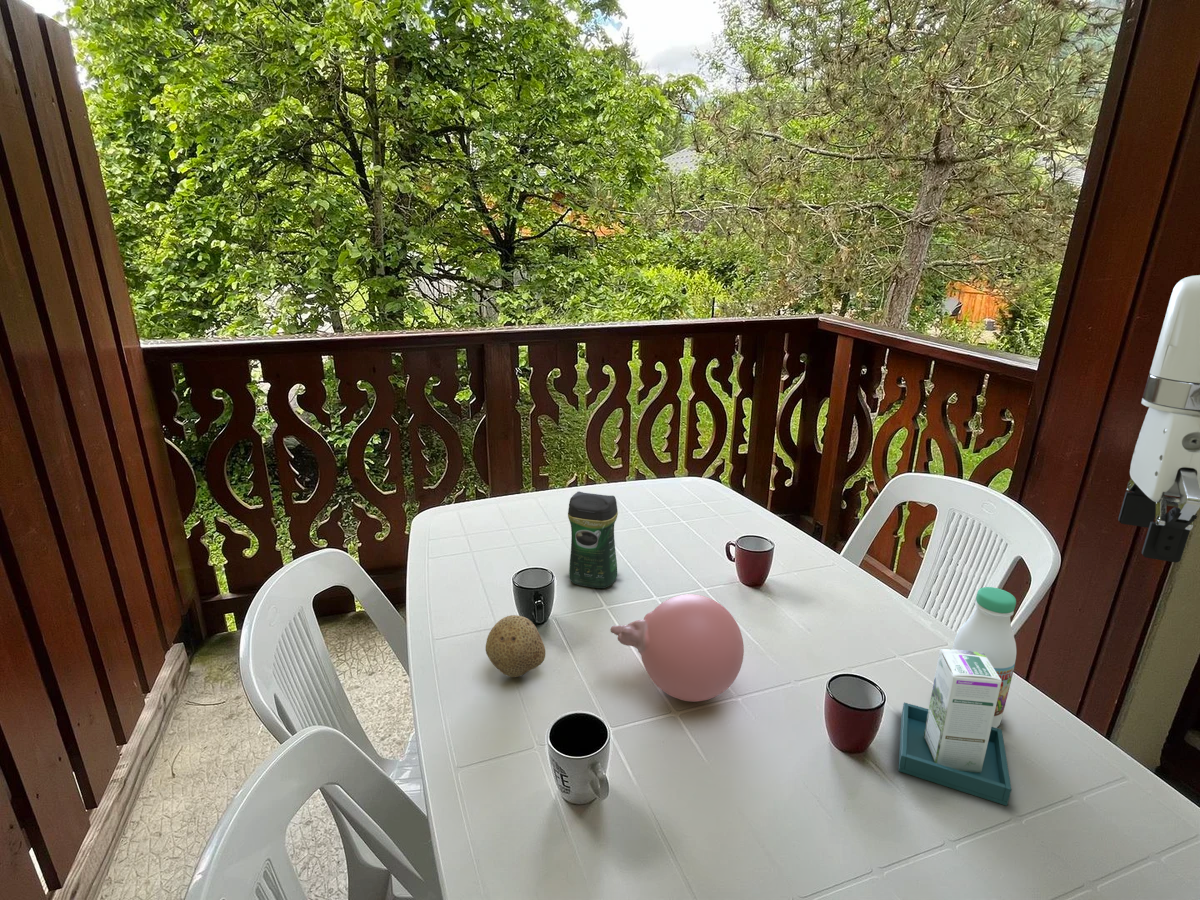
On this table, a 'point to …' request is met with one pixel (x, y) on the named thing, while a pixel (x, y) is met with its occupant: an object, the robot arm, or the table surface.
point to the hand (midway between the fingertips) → (1146, 540)
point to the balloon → (687, 646)
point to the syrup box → (961, 709)
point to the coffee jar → (592, 539)
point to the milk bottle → (992, 638)
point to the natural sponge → (515, 646)
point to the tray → (921, 764)
